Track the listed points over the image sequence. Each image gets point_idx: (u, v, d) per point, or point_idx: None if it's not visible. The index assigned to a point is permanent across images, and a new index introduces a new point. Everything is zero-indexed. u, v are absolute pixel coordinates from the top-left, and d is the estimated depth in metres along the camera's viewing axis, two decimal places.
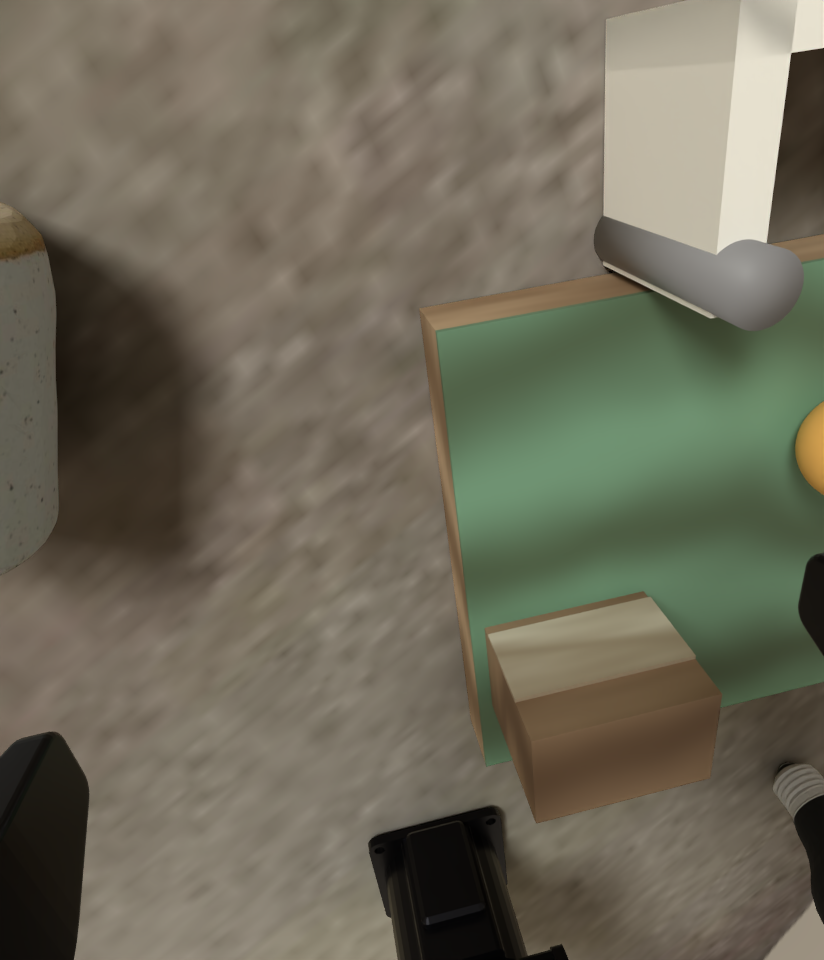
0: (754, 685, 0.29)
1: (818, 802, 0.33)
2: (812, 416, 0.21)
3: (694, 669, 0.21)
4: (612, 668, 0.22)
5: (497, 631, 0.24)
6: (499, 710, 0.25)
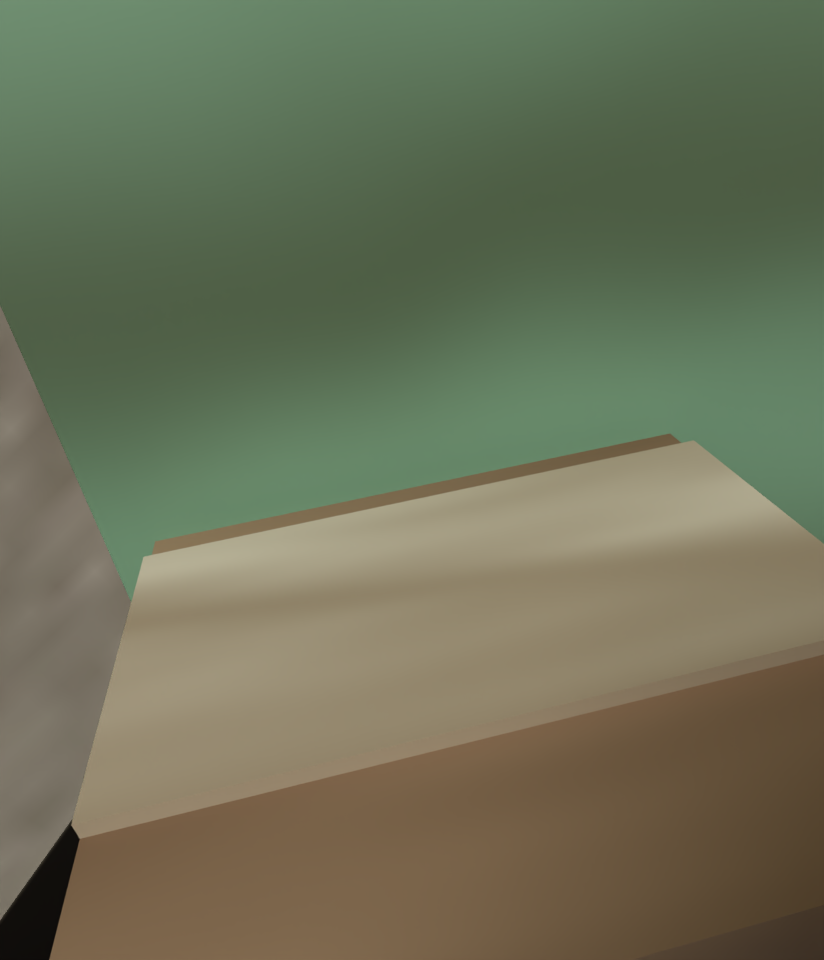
0: None
1: None
2: None
3: None
4: (549, 675, 0.05)
5: (187, 549, 0.07)
6: None
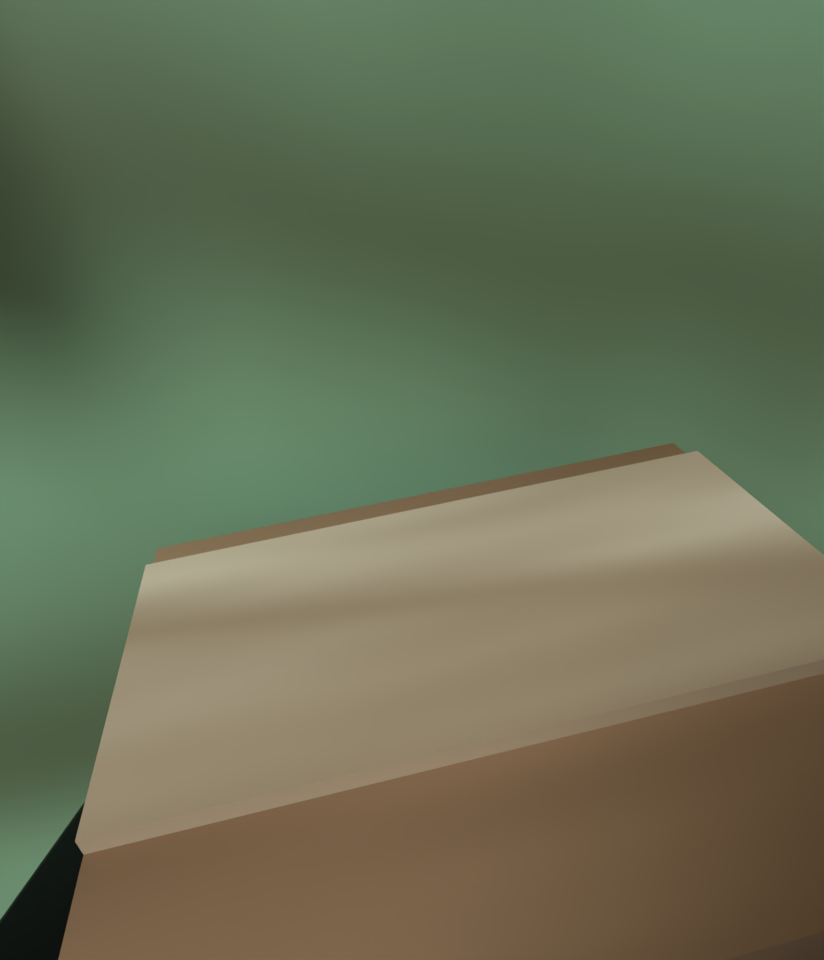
0: None
1: None
2: None
3: None
4: (554, 691, 0.05)
5: (189, 557, 0.07)
6: None
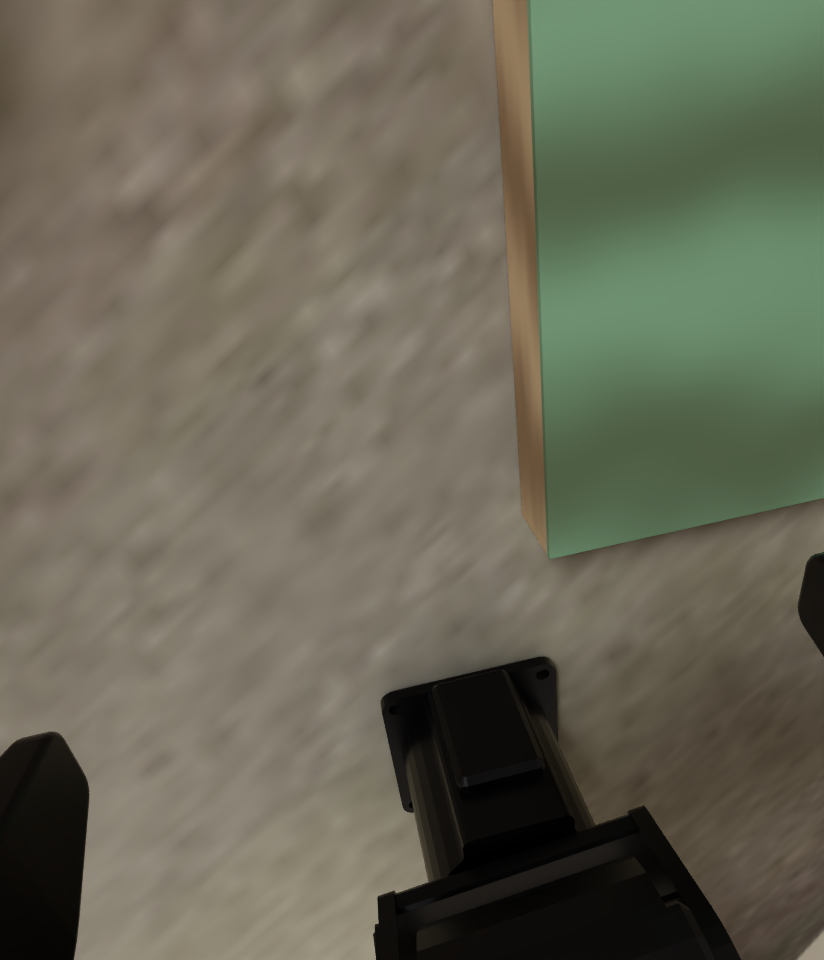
0: None
1: None
2: None
3: None
4: None
5: None
6: None
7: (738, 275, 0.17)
